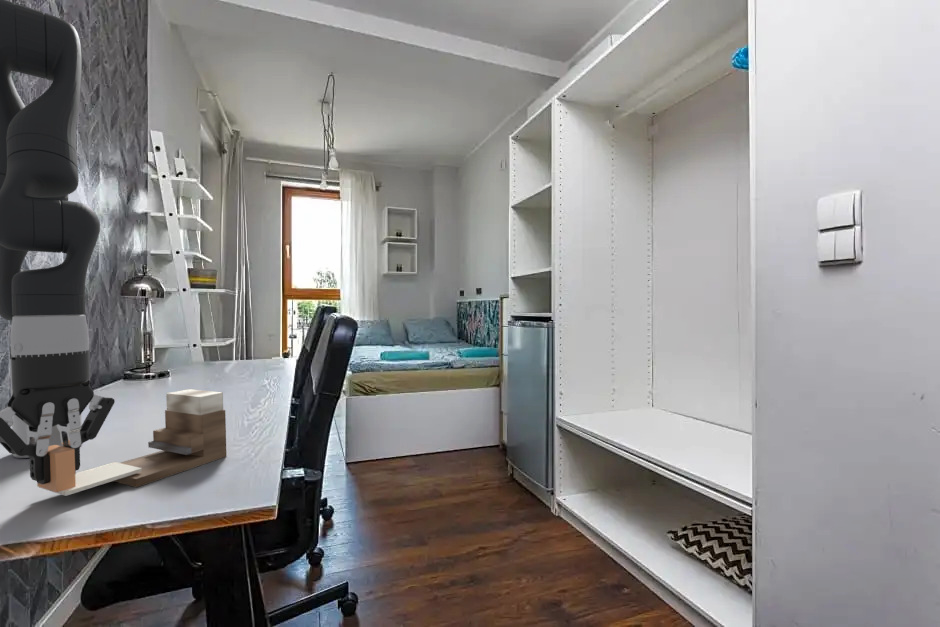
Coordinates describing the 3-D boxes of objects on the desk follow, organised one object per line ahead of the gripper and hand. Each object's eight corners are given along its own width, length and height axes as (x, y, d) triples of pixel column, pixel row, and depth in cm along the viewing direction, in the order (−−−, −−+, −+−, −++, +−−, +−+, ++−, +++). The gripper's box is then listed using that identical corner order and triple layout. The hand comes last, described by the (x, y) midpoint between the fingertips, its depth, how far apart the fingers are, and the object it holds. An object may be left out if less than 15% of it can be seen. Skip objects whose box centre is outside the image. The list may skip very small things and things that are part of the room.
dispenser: (97, 477, 67) (95, 405, 67) (189, 449, 80) (187, 389, 80) (136, 487, 63) (134, 410, 63) (226, 456, 76) (224, 392, 75)
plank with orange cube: (33, 488, 59) (32, 448, 59) (115, 465, 68) (114, 429, 68) (60, 497, 56) (59, 454, 56) (142, 471, 65) (140, 434, 65)
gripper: (97, 344, 66) (101, 458, 66) (-37, 354, 54) (-32, 495, 54) (126, 345, 63) (130, 465, 63) (-9, 356, 50) (-4, 505, 51)
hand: (55, 478), depth 59 cm, fingers closed on plank with orange cube, 2 cm apart
